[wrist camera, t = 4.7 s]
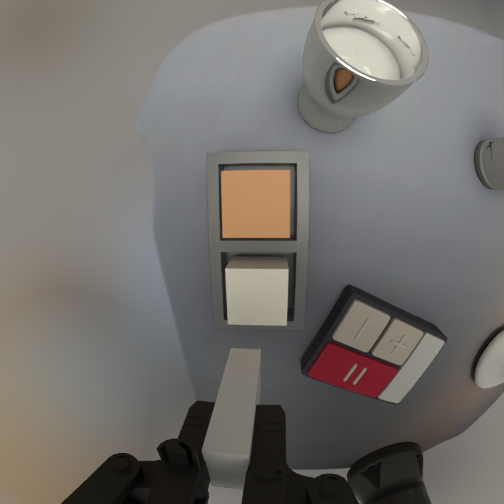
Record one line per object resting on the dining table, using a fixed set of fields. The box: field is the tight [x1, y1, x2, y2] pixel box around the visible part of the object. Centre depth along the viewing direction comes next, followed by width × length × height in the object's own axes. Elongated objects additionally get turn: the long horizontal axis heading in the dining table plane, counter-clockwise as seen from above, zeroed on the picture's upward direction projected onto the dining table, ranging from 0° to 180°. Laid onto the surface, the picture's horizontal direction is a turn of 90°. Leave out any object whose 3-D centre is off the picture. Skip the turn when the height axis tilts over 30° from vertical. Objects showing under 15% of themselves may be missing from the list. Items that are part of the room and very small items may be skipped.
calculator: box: [301, 285, 447, 404], centre depth 28 cm, size 11×4×15 cm
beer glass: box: [298, 0, 428, 133], centre depth 17 cm, size 7×7×15 cm
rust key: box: [221, 170, 290, 238], centre depth 22 cm, size 5×5×4 cm
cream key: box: [225, 256, 289, 326], centre depth 24 cm, size 5×5×4 cm
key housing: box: [207, 151, 309, 331], centre depth 26 cm, size 16×9×4 cm, turn 0°
